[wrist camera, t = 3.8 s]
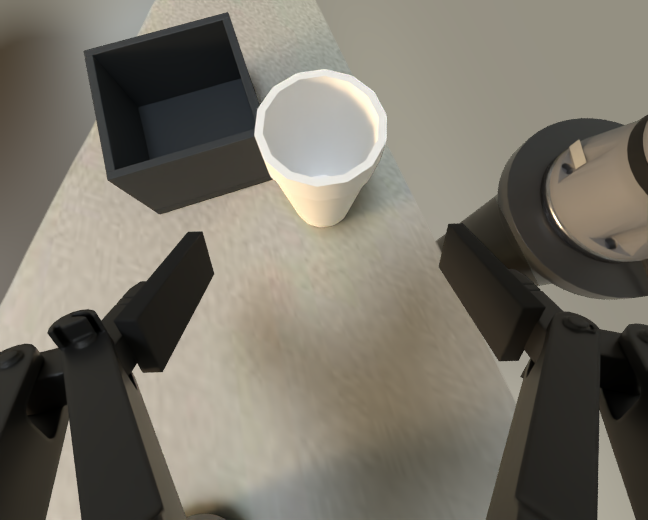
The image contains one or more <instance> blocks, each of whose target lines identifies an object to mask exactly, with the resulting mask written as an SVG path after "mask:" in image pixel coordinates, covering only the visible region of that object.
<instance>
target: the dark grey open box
mask: <svg viewBox="0 0 648 520" xmlns="http://www.w3.org/2000/svg"><path fill="white" fill-rule="evenodd" d="M84 56H85V62H86V67H87V72H88V77H89V83H90V88H91V93H92V99H93V104H94V110H95V115H96V120H97V126H98V131H99V136H100V142H101V147H102V152H103V158H104V163H105V168H106V172H107V173H106V174H107V180H108V181H110V182H111V183H113V184H114V185H116V186H117V187H119V188H120V189H122V190H123V191H125V192H126V193H128V194H129V195H131V196H132V197H134V198H135V199H137V200H138V201H140V202H141V203H143V204H145V205H146V206H148V207H149V208H151V209H152V210H154V211H155V212H157V213H158V214H162V213H165V212H168V211H172V210H175V209H178V208H181V207H185V206H188V205H191V204H194V203H198V202H201V201H204V200H207V199H211V198H214V197H217V196H220V195H224V194H227V193H230V192H233V191H237V190H240V189H243V188H246V187H250V186H253V185H256V184H259V183H262V182H266V181H269V180H272V178H271V177H270V174H269V172H268V169H267V167H266V164H265V162H264V159H263V157H262V154H261V152H260V149H259V146H258V144H257V141H256V139H255V136H254V132H255V124H256V116H257V109H258V108H259V103H258V100H257V97H256V94H255V91H254V88H253V85H252V82H251V79H250V76H249V73H248V70H247V67H246V64H245V61H244V58H243V55H242V52H241V49H240V46H239V43H238V40H237V37H236V34H235V31H234V28H233V25H232V22H231V19H230V16H229V13H228V12H227V13H223V14H219V15H216V16H212V17H208V18H204V19H201V20H197V21H193V22H189V23H186V24H182V25H178V26H174V27H171V28H167V29H163V30H160V31H156V32H152V33H148V34H145V35H141V36H137V37H134V38H130V39H126V40H122V41H119V42H115V43H111V44H107V45H104V46H100V47H96V48H92V49H89V50H85V51H84Z"/></svg>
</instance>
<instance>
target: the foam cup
mask: <svg viewBox="0 0 648 520" xmlns="http://www.w3.org/2000/svg"><path fill="white" fill-rule="evenodd" d="M386 128H387V115H386V113H385V111H384V109H383V107H382V105H381V103H380V101H379V100H378V98H377V96H376V94H375V92H374V91H373V90H371V89H370V88H369V87H367V86H366V85H364V84H363V83H362V82H360V81H359V80H358V79H356V78H355V77H354V76H352V75H348V74H343V73H339V72H335V71H331V70H327V69H322V70H315V71H308V72H301V73H296V74H294V75H293V76H291V77H289V78H288V79H286V80H284V81H282V82H281V83H279V84H277V85H276V86H274V87H273V88H272V89H271V90H270V92H269V93H268V95H267V96H266V98H265V99H264V100H263V102H262V103H261V105H260V106H259V108H258V109H257V116H256V124H255V132H254V136H255V139H256V141H257V144H258V146H259V149H260V152H261V154H262V157H263V159H264V162H265V164H266V167H267V169H268V172H269V174H270V177H271V178H272V179H274V180H275V181H276V182H277V183H278V184H279V186H280V187H281V189H282V190H283V192H284V193H285V195H286V196H287V198H288V199H289V201H290V202H291V204H292V206H293V207H294V209H295V210H296V212H297V213H298V215H299V216H300V217H301V218H302V219H303V220H305V221H306V222H307V223H308V224H309V225H313V226H317V227H320V228H323V227H329V226H334V225H335V224H337V223H338V222H340V221H341V220H343V219H344V217H345V216H346V214H347V212H348V211H349V209H350V207H351V205H352V204H353V202H354V200H355V198H356V197H357V195H358V193H359V191H360V190H361V188H362V186H363V185H364V184H365V183H367V182H368V181H369V179H370V177H371V175H372V174H373V172H374V170H375V168H376V167H377V165H378V163H379V161H380V159H381V156H382V153H383V150H384V147H385V144H386V134H387V133H386V132H387V131H386V130H387V129H386Z"/></svg>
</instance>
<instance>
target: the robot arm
mask: <svg viewBox="0 0 648 520" xmlns="http://www.w3.org/2000/svg"><path fill="white" fill-rule="evenodd" d="M540 198H541V204H542V208H543V211H544V214H545V216H546V218H547V220H548V222H549V224H550V225H551V227H552V228H553V230H554V231H555V232H556V234H557V235H558V236H559V237H560V238H561V239H562V240H563V241H564V242H565V243H566V244H568V245H569V246H570V247H571V248H573V249H574V250H576V251H577V252H579V253H581V254H583V255H585V256H587V257H589V258H592V259H594V260H598V261H601V262H606V263H613V264H625V263H632V262H637V261H642V264H643V267H644V269H645V272H646V274H647V277H648V115H647V116H645V117H643V118H642V119H640V120H638V121H635V122H633V123H630V124H627V125H624V126H621V127H618V128H615V129H613V130H610V131H607V132H604V133H601V134H598V135H595V136H592V137H590V138H587V139H584V140H582V141H580V140H578V141H576V142H575V143H574V144H572V145H571V146H569V148H568V149H566V150H565V151H563V152H562V153H561V154H559V155H558V156H557V157H556V158H554V159H553V160H552V162H551V163H550V164H549V165H548V167H547V168H546V170H545V172H544V174H543V177H542V181H541V186H540ZM439 268H440V270H441V271H442V273H443V274H444V276H445V277H446V279H447V281H448V282H449V284H450V285H451V287H452V288H453V290H454V292H455V293H456V295H457V296H458V298H459V299H460V301H461V303H462V304H463V306H464V307H465V309H466V310H467V312H468V313H469V315H470V317H471V318H472V320H473V321H474V323H475V324H476V326H477V328H478V329H479V331H480V332H481V334H482V335H483V337H484V339H485V340H486V342H487V343H488V345H489V346H490V348H491V349H492V351H493V353H494V354H495V356H496V357H497V359H498V360H499V361H518V360H519V359H520V357H521V355H522V353H523V351H524V350H525V351H526V353H527V354H528V355H529V357H530V360H529V362H528V364H527V366H526V367H525V369H524V371H523V373H522V375H521V377H522V378H523V382H522V386H521V390H520V393H519V397H518V401H517V404H516V408H515V412H514V416H513V419H512V423H511V427H510V431H509V434H508V438H507V442H506V446H505V449H504V453H503V457H502V461H501V464H500V468H499V472H498V476H497V479H496V483H495V487H494V491H493V494H492V498H491V502H490V506H489V509H488V513H487V517H486V520H597V505H598V453H599V410H600V412H601V416H602V419H603V421H604V425H605V428H606V431H607V433H608V437H609V440H610V443H611V446H612V449H613V452H614V455H615V458H616V461H617V464H618V467H619V470H620V473H621V475H622V479H623V482H624V485H625V488H626V490H627V494H628V497H629V500H630V503H631V506H632V509H633V512H634V515H635V518H636V520H648V325H644V324H629V325H628V326H627V327H626V328H625V330H624V331H623V332H622V333H617V332H612V331H607V330H601V329H599V328H598V327H597V326H596V325H595V324H594V323H593V322H592V321H590V320H589V319H587V318H585V317H583V316H581V315H578V314H575V313H571V312H564V311H562V310H561V309H560V308H559V307H558V306H557V305H556V304H555V303H554V302H553V301H552V300H551V299H550V298H549V297H548V296H547V295H546V294H545V293H544V292H543V291H540V289H539V288H538V287H537V286H536V285H534V283H533V282H532V281H531V280H530V279H529V278H528V277H527V276H526V275H524V274H522V273H520V272H519V271H517V270H515V269H508V268H507V267H506V266H505V265H504V264H503V263H502V262H501V261H500V260H499V259H498V258H497V257H496V256H495V255H494V254H493V253H492V252H491V251H490V250H489V249H488V248H487V247H486V246H485V245H484V244H483V243H482V242H481V241H480V240H479V239H478V238H477V237H476V236H475V235H474V234H473V233H472V232H471V231H470V230H469V229H468V228H467V227H466V226H465V225H464V224H463V223H460V224H448V228H447V232H446V237H445V241H444V245H443V250H442V254H441V259H440V263H439ZM213 275H214V271H213V268H212V264H211V261H210V257H209V253H208V250H207V246H206V243H205V239H204V236H203V232H188V233H187V234H186V235H185V236H184V237H183V238H182V240H181V241H180V242H179V243H178V244H177V246H176V247H175V248H174V249H173V250H172V252H171V253H170V254H169V255H168V256H167V258H166V259H165V260H164V261H163V262H162V263H161V265H160V266H159V267H158V268H157V269H156V271H155V272H154V273H153V274H152V275H151V277H150V278H149V279H148V280H147V281H142V282H139V283H138V284H136V285H135V286H133V287H132V288H130V289H129V290H128V291H127V293H126V294H125V295H124V296H123V298H122V299H120V300H119V302H118V303H117V305H115V306H114V307H113V308H112V309H111V311H110V312H109V313H108V314H107V315H106V316H105V317H104V318H103V320H102V321H101V320H100V318H99V317H98V315H97V313H96V312H95V311H94V310H89V309H87V310H79V311H76V312H72V313H70V314H68V315H65V316H63V317H61V318H60V319H59V320H57V321H56V322H54V323H53V324H52V325H51V327H50V328H49V330H48V334H49V336H50V337H51V338H52V340H53V341H54V342H55V344H56V345H57V346H58V348H56V349H52V350H48V351H44V352H39V351H38V350H37V349H36V347H35V346H33V345H32V344H22V345H17V346H14V347H11V348H8V349H6V350H4V351H2V352H0V520H45V519H46V515H47V511H48V507H49V502H50V498H51V494H52V489H53V485H54V481H55V477H56V472H57V468H58V464H59V459H60V455H61V451H62V447H63V442H64V438H65V434H66V429H67V425H68V421H70V429H71V437H72V445H73V454H74V462H75V470H76V478H77V486H78V494H79V502H80V510H81V519H82V520H187V518H186V516H185V513H184V510H183V507H182V505H181V502H180V499H179V496H178V494H177V491H176V488H175V486H174V483H173V480H172V477H171V475H170V472H169V469H168V466H167V464H166V461H165V458H164V455H163V453H162V450H161V447H160V445H159V442H158V439H157V436H156V434H155V431H154V428H153V425H152V423H151V420H150V417H149V414H148V412H147V409H146V406H145V404H144V401H143V398H142V395H141V393H140V390H139V387H138V384H137V382H136V379H135V376H134V375H133V373H132V370H133V369H134V367H135V365H136V364H137V363H138V365H139V367H140V369H141V370H142V372H143V373H147V372H163V370H164V368H165V366H166V364H167V363H168V361H169V359H170V357H171V355H172V353H173V351H174V349H175V347H176V345H177V344H178V342H179V340H180V338H181V336H182V334H183V332H184V330H185V328H186V326H187V325H188V323H189V321H190V319H191V317H192V315H193V313H194V311H195V309H196V307H197V306H198V304H199V302H200V300H201V298H202V296H203V294H204V292H205V290H206V289H207V287H208V285H209V283H210V281H211V279H212V277H213Z"/></svg>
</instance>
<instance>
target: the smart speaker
mask: <svg viewBox="0 0 648 520" xmlns="http://www.w3.org/2000/svg"><path fill="white" fill-rule="evenodd" d="M186 518H187V520H226V519H224V518H222V517H220V516H217V515H213V514H196V515H192V516H189V517H186Z"/></svg>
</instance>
